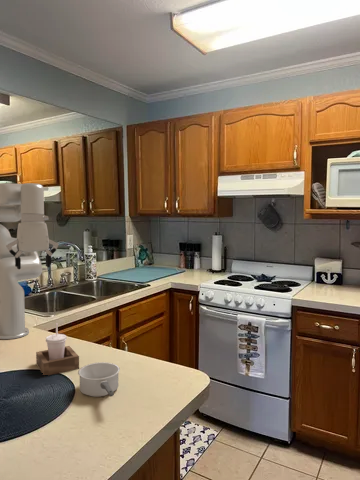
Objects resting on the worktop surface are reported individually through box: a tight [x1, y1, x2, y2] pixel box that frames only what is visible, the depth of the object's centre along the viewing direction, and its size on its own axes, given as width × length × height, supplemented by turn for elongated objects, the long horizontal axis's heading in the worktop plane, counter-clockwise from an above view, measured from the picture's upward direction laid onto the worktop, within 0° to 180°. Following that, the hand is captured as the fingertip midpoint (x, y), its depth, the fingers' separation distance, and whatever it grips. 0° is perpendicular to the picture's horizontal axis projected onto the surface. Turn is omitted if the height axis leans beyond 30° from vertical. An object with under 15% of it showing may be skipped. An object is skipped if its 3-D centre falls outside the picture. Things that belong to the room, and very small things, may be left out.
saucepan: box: [77, 361, 121, 398], centre depth 98 cm, size 12×20×6 cm, turn 25°
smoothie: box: [45, 322, 67, 360], centre depth 117 cm, size 6×6×14 cm
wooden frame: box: [35, 345, 80, 376], centre depth 117 cm, size 11×11×4 cm
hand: (33, 267), depth 127 cm, fingers open, 9 cm apart
